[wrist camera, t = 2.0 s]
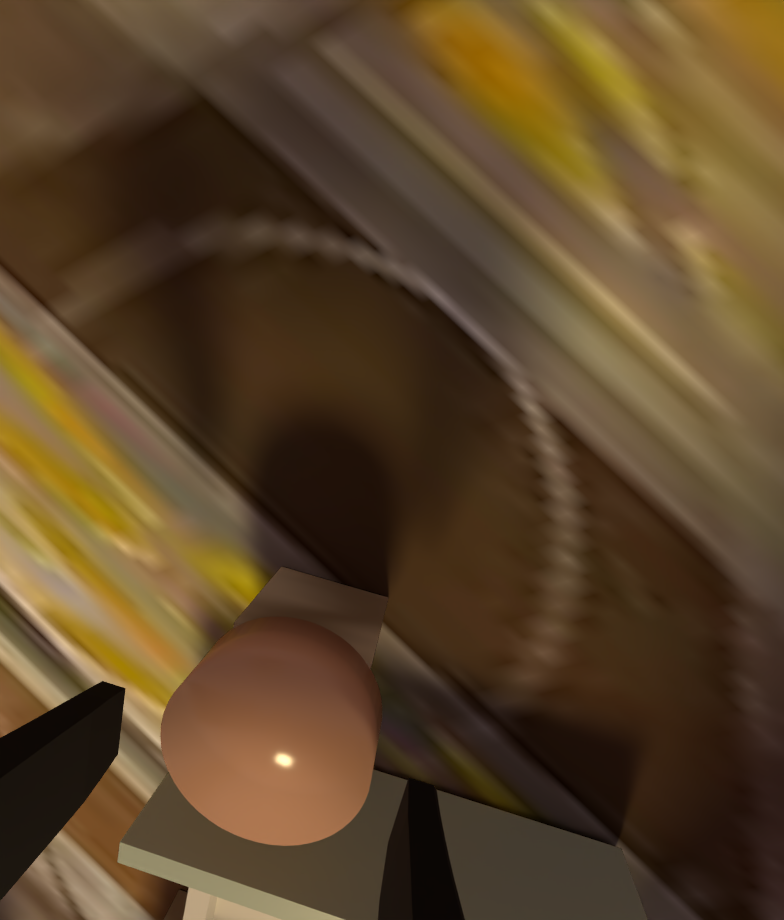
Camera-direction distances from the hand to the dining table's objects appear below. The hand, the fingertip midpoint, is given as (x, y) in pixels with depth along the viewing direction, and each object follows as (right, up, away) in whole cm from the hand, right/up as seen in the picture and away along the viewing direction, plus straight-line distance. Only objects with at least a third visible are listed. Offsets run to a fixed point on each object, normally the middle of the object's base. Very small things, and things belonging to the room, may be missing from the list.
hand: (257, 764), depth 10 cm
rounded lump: (0, 0, +2) cm, 2 cm away
